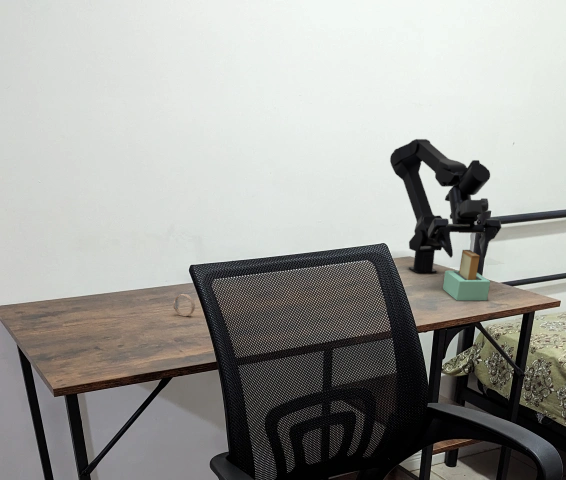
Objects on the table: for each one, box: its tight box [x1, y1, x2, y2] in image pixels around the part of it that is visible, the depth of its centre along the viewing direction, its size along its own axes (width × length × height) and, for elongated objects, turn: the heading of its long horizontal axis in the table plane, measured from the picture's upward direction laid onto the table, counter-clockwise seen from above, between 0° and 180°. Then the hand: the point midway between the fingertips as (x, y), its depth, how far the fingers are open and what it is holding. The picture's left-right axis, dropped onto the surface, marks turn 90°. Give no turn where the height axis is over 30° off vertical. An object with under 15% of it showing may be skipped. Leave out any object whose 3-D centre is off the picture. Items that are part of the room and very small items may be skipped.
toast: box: [458, 249, 481, 280], centre depth 193 cm, size 8×2×10 cm, turn 7°
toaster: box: [442, 270, 491, 301], centre depth 194 cm, size 12×10×5 cm
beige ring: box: [172, 293, 196, 317], centre depth 169 cm, size 3×5×5 cm, turn 70°
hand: (468, 256), depth 192 cm, fingers open, 9 cm apart
